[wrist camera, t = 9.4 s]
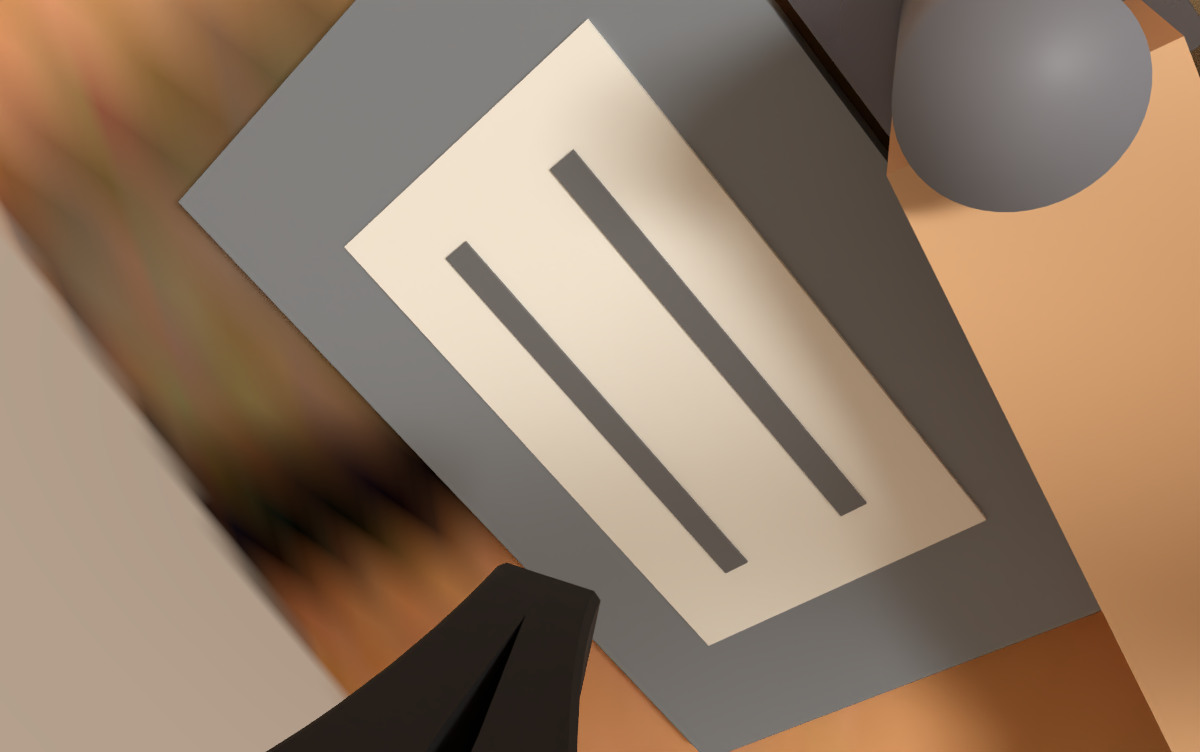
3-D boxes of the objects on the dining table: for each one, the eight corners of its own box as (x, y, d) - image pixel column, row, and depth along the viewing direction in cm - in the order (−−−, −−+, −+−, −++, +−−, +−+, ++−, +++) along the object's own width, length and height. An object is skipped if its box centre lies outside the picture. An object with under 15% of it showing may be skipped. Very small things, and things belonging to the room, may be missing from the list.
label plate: (1188, 555, 19) (1198, 580, 19) (711, 741, 25) (706, 765, 25) (588, -250, 16) (574, -252, 15) (195, 192, 22) (173, 204, 21)
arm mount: (1199, 27, 15) (1213, 37, 14) (942, 194, 17) (943, 209, 17) (1040, -223, 14) (1045, -224, 14) (789, -13, 16) (783, -5, 16)
